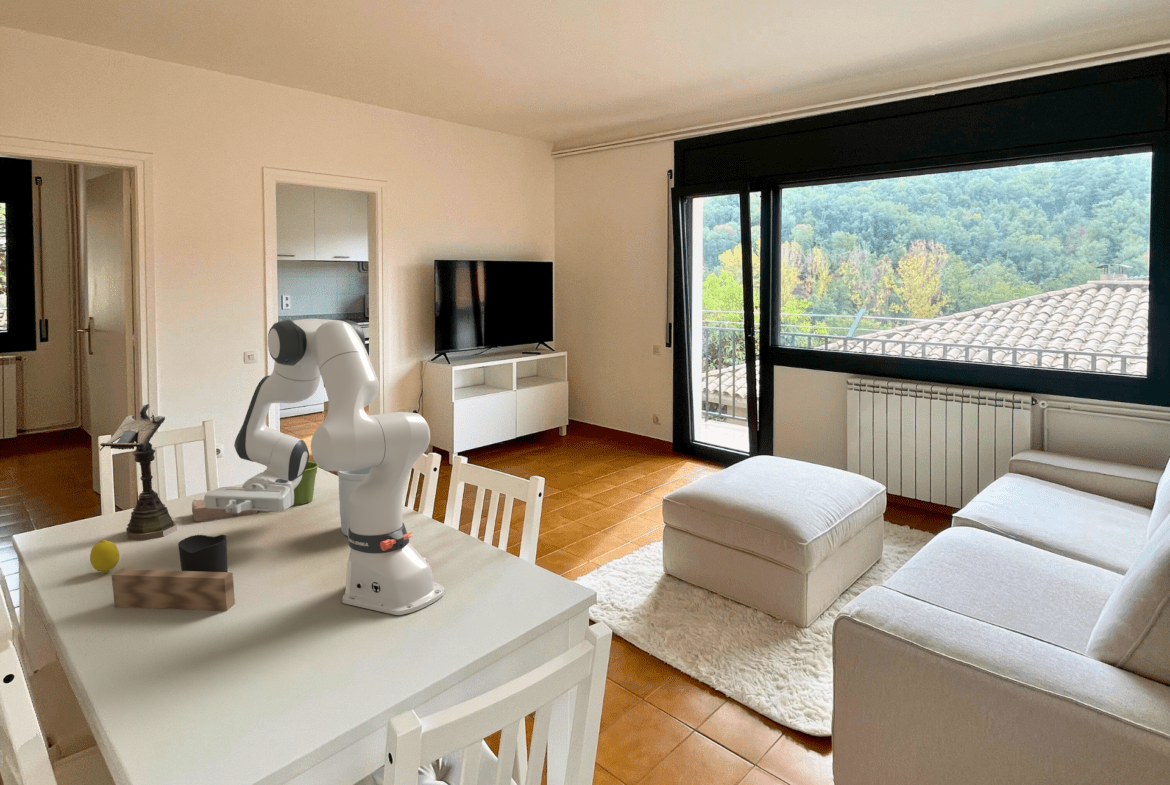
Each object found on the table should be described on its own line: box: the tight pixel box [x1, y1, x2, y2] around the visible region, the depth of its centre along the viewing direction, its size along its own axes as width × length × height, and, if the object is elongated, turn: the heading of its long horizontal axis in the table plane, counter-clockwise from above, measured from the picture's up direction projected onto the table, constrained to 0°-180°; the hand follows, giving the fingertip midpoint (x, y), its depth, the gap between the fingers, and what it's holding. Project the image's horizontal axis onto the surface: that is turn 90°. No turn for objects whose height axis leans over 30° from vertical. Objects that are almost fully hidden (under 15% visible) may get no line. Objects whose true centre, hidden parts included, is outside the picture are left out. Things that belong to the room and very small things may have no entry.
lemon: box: [89, 539, 120, 574], centre depth 160 cm, size 6×6×8 cm
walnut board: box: [111, 568, 236, 611], centre depth 145 cm, size 24×3×7 cm, turn 87°
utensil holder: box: [336, 467, 371, 537], centre depth 189 cm, size 15×15×18 cm
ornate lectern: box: [99, 403, 178, 541], centre depth 181 cm, size 17×13×35 cm
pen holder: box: [177, 534, 228, 572], centre depth 155 cm, size 9×9×10 cm
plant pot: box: [292, 461, 320, 506], centre depth 212 cm, size 12×12×11 cm
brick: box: [191, 499, 258, 522], centre depth 201 cm, size 16×8×5 cm, turn 122°
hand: (231, 509), depth 166 cm, fingers closed
